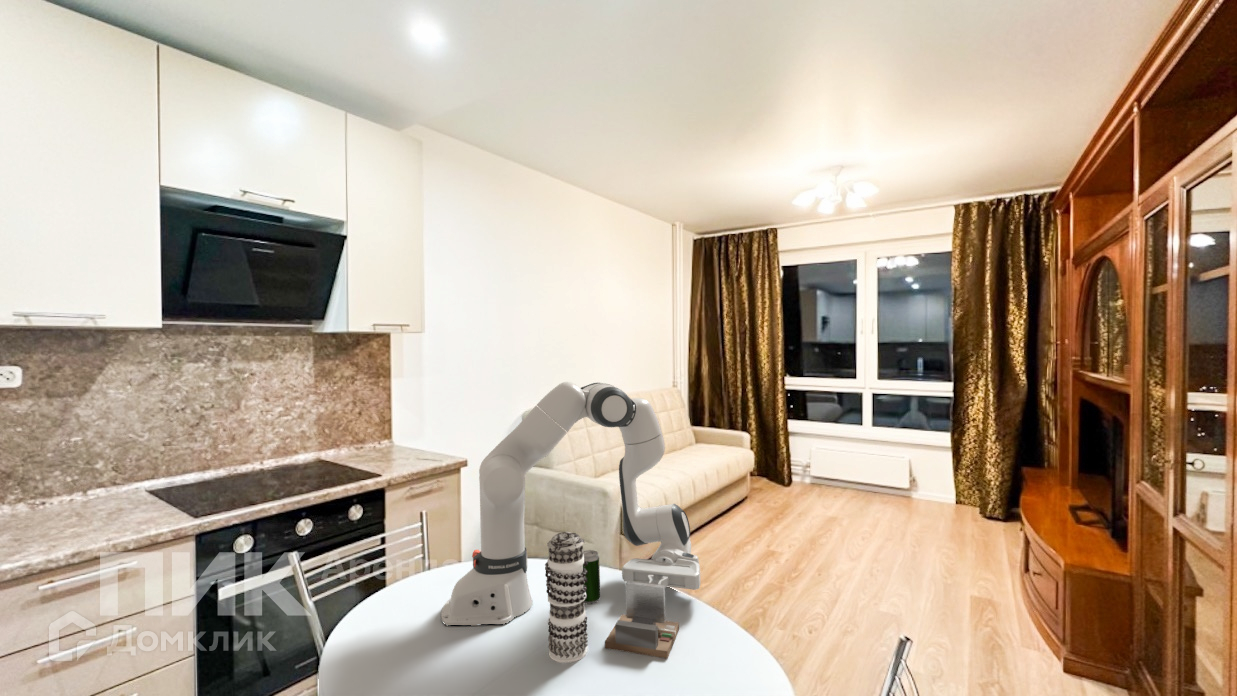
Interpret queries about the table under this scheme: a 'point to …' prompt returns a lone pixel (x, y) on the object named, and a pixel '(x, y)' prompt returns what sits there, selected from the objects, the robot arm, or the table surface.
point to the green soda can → (592, 576)
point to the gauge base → (656, 653)
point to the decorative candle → (566, 598)
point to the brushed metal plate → (646, 604)
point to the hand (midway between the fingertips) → (654, 587)
